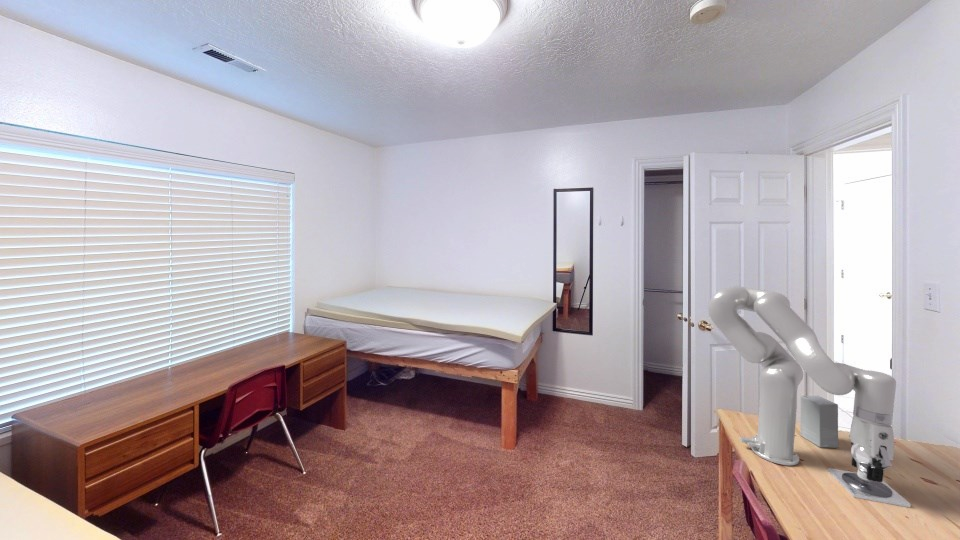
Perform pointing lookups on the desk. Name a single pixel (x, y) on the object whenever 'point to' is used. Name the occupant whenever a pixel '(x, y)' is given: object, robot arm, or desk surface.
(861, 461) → the light bulb
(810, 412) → the skincare box
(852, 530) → the desk surface
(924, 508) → the desk surface
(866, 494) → the duct plate
